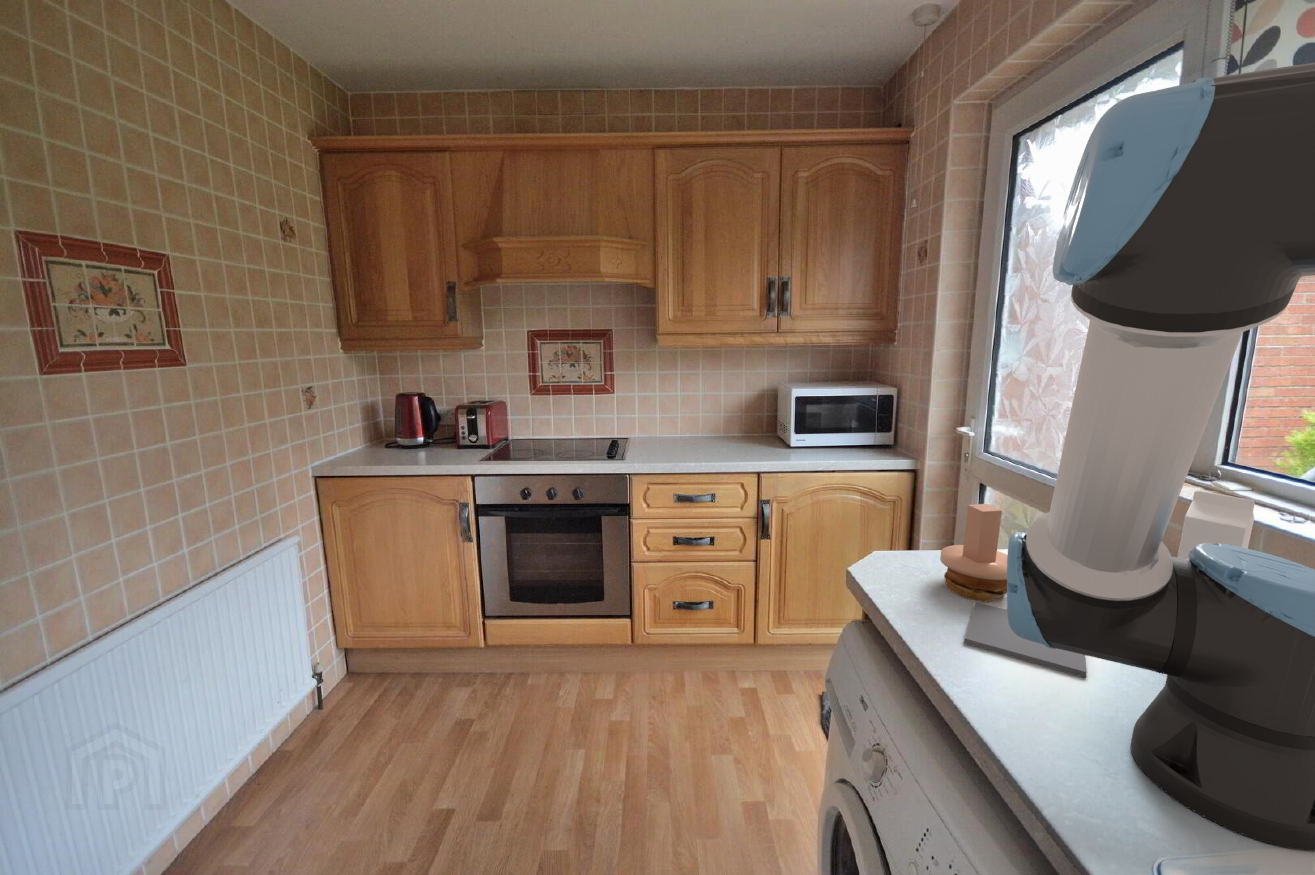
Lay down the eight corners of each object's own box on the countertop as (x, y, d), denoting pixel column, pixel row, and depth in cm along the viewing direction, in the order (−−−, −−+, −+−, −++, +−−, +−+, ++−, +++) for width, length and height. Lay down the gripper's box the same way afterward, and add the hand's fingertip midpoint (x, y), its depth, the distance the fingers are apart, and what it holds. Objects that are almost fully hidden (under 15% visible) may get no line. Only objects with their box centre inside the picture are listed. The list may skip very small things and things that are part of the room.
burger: (953, 600, 94) (956, 574, 93) (937, 576, 103) (940, 552, 102) (1019, 606, 92) (1023, 579, 91) (996, 581, 101) (999, 556, 100)
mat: (1085, 677, 73) (1086, 672, 73) (964, 643, 81) (964, 638, 81) (1082, 632, 84) (1083, 628, 83) (974, 606, 91) (975, 601, 91)
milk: (1217, 659, 77) (1252, 505, 72) (1159, 640, 82) (1189, 494, 77) (1226, 644, 81) (1260, 496, 76) (1170, 626, 85) (1199, 485, 81)
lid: (970, 582, 90) (977, 521, 88) (926, 553, 101) (931, 498, 99) (1035, 577, 92) (1043, 517, 90) (984, 549, 103) (990, 495, 101)
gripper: (1055, 303, 88) (1073, 438, 88) (1131, 266, 64) (1154, 450, 65) (1113, 293, 85) (1131, 432, 86) (1214, 250, 62) (1238, 443, 62)
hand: (1141, 440), depth 75 cm, fingers open, 13 cm apart
